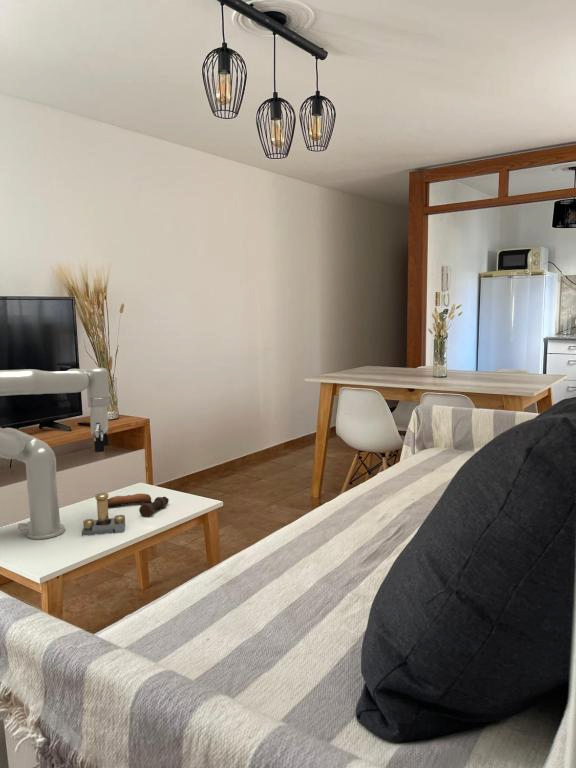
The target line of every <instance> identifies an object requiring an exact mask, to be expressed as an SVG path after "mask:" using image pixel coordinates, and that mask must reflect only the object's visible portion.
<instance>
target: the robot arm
mask: <svg viewBox="0 0 576 768" xmlns="http://www.w3.org/2000/svg"><path fill="white" fill-rule="evenodd" d="M108 373H109V372H108V370H107V368H104V367H91V368H83V369H82V368H70V369H68V370H66V371H65V370H63V371H56V370H55V371H50V370H49V371H48V370H40V369H34V368H33V369H31V368H29V369H26V368H24V369H4V370H3V369H1V370H0V396H1V397H4V396H18V395H19V396H20V395H44V394H50V395H51V394H68V393H69V394H72V393H74V394H75V393H80V392H83V391H85V390H86V395H87V407H88V408H90V409H89V410H90V411H89V412H90V413H89V414H90V415H89V416H90V419H89V421H90V434H91V435H92V436H93V435H94V439H93V440H94V442H93V443H94V453H100V452H102V453H103V452H105V447H107V446H109V435H108V430H109V418H108V417H109V416H108V415H109V414H108V407H110V406H111V403H110V401H111V400H110V387H109V386H110V385H109V374H108ZM0 457H1V458H3V459H7V460H17V461H20V462H22V463H24V464H25V470H26V485H27V486H26V487H27V498H28V508H29V509H28V510H29V520H30V521H27V522H26V523H25V522H22V523H20V522H19V523H18V524H17V529H18V530H19V531H26V537H27V538H29V539H31V540H45V539H50V538H53V537H57V536H59V535H61V534H63V533H64V532H65V531H66V527H65V525H64V524H62V523H61V520H60V518H61V517H60V507H59V495H58V493H59V492H58V482H57V479H58V478H57V458H56V454H55V452H54V450H53V449H52V447H50V445H49V444H48V443H46V442H45V441H44V440H41V439H39V438H37V437H35V436H32V435H30V434H28V433H26V432H23V431H21V430H18V429H16V428H12V427H5V428H3V427H1V426H0Z"/></svg>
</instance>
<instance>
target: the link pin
mask: <svg viewBox="0 0 576 768" xmlns="http://www.w3.org/2000/svg"><path fill="white" fill-rule="evenodd" d="M94 497H95V500H96V508H97V509H96V511H97V520H98V525H105V524H109V517H110V516H109V508H108V501H107V499H109V493H107V492H101V493H97V494H95V495H94Z"/></svg>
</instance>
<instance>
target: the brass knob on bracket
mask: <svg viewBox="0 0 576 768" xmlns="http://www.w3.org/2000/svg"><path fill="white" fill-rule="evenodd" d="M82 523H83V528H82V530H81V536H82V537H84V536H83V535H88V536H96V535H95V534H98V535H106V534H105V533H109V534H114V533H116V534H118V533H117V532H119V533H124V532H125V528H126V516H125V515H124V514H118V515H115V516H114V517H110V518H109V524H105V525H98V519H93V518H89V519H85V520H83V521H82Z"/></svg>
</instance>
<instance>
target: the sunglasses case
mask: <svg viewBox="0 0 576 768" xmlns="http://www.w3.org/2000/svg"><path fill="white" fill-rule="evenodd" d="M107 501H108V509H110V508H113V507H117V506H126V505H129V506H130V505H138V504H143V503H152V502H153V501H152V497H151V495H150V494H148V493H134V494H127V495H116V496H111V497H110V498H109V497H108V498H107Z"/></svg>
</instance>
